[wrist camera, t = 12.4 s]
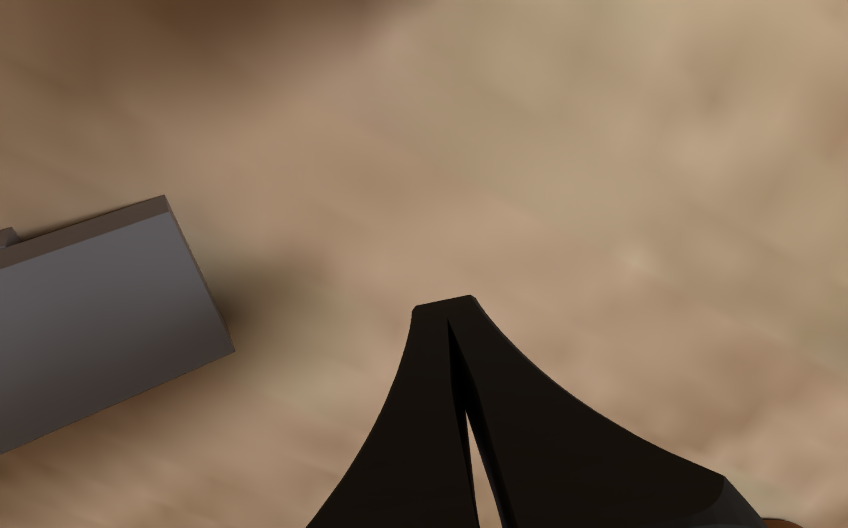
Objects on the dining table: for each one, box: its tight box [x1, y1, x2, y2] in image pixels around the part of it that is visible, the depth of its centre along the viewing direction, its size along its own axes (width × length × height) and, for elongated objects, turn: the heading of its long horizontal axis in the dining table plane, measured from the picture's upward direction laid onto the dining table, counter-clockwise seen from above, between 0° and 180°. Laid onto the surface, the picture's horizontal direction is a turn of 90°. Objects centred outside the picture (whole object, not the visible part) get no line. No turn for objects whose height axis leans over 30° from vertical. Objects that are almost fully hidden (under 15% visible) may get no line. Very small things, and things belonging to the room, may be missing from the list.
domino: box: [0, 195, 235, 454], centre depth 15 cm, size 5×2×8 cm
